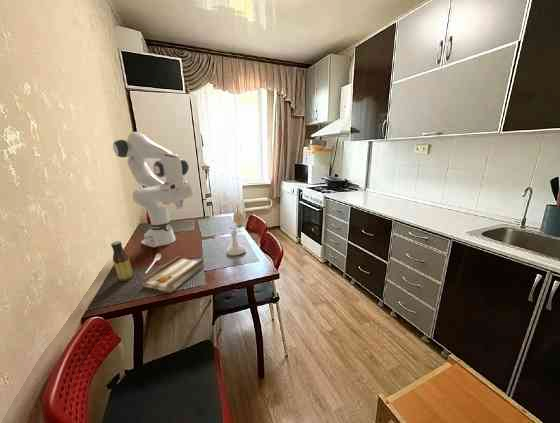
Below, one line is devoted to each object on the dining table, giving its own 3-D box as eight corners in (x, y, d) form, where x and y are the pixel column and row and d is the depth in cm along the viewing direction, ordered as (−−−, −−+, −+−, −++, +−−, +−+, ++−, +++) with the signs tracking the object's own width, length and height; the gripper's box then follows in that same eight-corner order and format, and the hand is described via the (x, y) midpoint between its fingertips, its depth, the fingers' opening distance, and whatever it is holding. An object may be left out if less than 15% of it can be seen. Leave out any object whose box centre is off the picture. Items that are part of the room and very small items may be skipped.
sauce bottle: (123, 275, 119) (113, 240, 114) (135, 274, 120) (127, 239, 114) (115, 282, 113) (105, 245, 107) (129, 281, 114) (119, 244, 108)
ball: (157, 283, 109) (158, 274, 109) (163, 282, 113) (165, 274, 113) (163, 285, 108) (165, 276, 108) (170, 284, 111) (171, 275, 112)
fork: (142, 275, 120) (141, 272, 120) (156, 256, 139) (156, 253, 139) (149, 274, 121) (148, 271, 120) (162, 256, 140) (161, 253, 139)
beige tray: (143, 286, 109) (141, 279, 108) (180, 262, 130) (178, 255, 129) (170, 292, 104) (168, 284, 103) (203, 265, 125) (202, 259, 124)
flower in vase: (229, 259, 132) (224, 217, 124) (224, 251, 141) (219, 212, 134) (250, 253, 137) (247, 213, 130) (244, 246, 147) (240, 208, 140)
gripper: (184, 180, 137) (188, 203, 141) (156, 187, 119) (161, 212, 123) (193, 180, 135) (196, 203, 139) (166, 187, 117) (171, 213, 121)
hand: (180, 208), depth 131 cm, fingers closed
